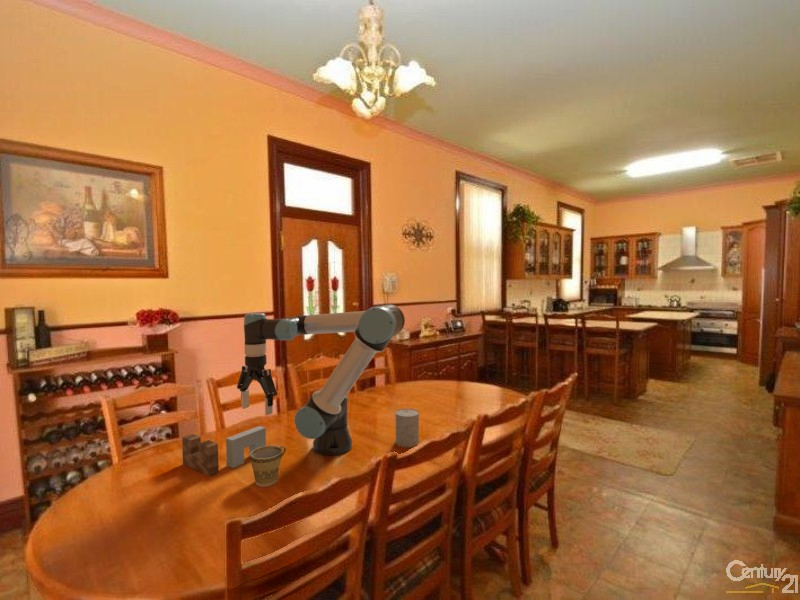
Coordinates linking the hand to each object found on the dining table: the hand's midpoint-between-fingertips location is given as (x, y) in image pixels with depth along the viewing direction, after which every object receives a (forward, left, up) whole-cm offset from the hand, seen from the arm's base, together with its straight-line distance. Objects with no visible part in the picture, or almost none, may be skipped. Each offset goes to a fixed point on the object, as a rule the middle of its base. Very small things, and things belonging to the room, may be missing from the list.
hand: (256, 411), depth 149 cm
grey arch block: (0, +5, -17) cm, 17 cm away
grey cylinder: (-41, -40, -17) cm, 60 cm away
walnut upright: (+8, +18, -17) cm, 26 cm away
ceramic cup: (-19, +10, -17) cm, 27 cm away
